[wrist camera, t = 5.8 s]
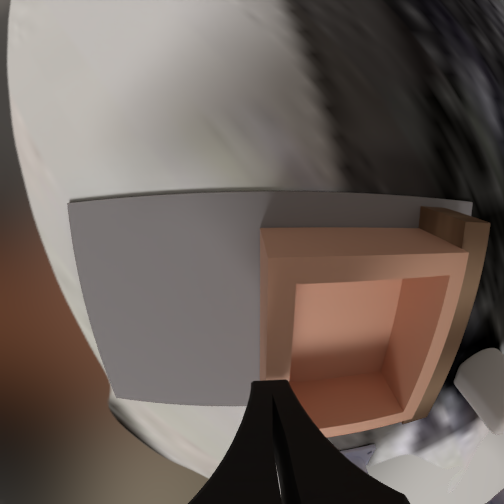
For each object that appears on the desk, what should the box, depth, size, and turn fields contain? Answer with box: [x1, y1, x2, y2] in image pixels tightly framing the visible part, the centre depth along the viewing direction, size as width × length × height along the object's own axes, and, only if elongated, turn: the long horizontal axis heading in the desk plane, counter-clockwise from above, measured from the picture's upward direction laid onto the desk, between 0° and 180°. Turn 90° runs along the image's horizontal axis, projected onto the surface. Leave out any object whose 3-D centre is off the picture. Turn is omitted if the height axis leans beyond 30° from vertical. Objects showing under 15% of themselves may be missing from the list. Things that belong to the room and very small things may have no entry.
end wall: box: [402, 206, 490, 424], centre depth 14 cm, size 13×2×4 cm, turn 1°
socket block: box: [260, 227, 469, 438], centre depth 14 cm, size 10×9×4 cm
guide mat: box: [67, 191, 473, 406], centre depth 16 cm, size 14×24×1 cm, turn 91°
